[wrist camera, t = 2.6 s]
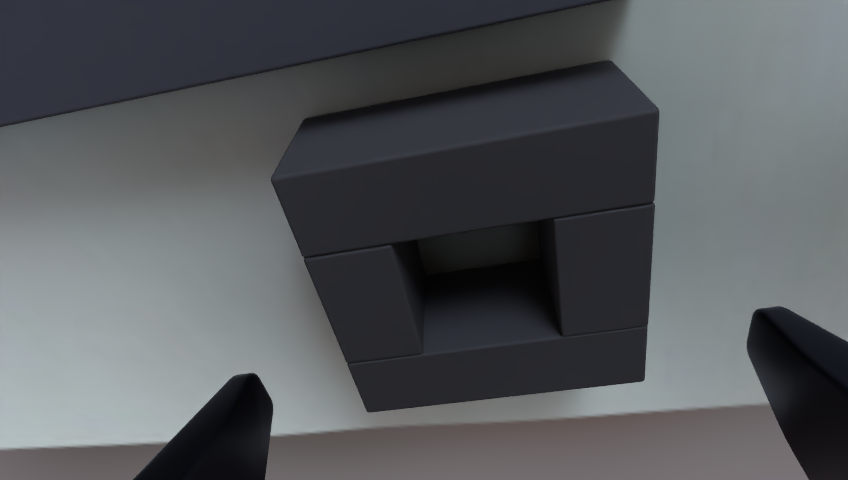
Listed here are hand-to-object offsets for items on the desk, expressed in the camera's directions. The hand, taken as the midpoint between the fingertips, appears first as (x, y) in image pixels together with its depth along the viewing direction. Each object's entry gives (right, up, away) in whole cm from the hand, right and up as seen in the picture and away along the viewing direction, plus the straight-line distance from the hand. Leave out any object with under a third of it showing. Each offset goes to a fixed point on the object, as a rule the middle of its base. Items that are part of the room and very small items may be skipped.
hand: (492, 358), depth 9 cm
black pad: (0, +3, +4) cm, 5 cm away
